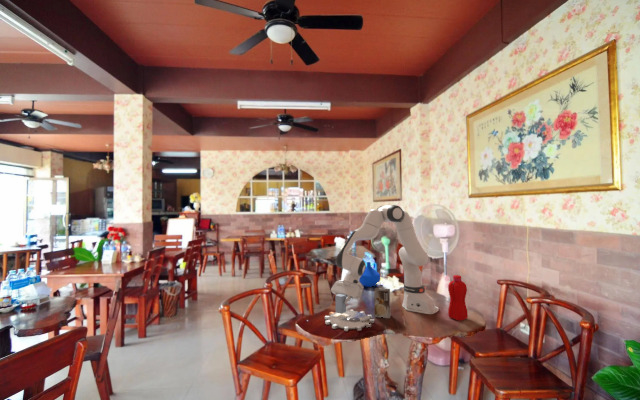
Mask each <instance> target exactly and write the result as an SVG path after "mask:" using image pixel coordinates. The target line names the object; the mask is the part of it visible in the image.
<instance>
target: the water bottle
mask: <svg viewBox="0 0 640 400" xmlns="http://www.w3.org/2000/svg"><path fill="white" fill-rule="evenodd" d="M452 278H453V280H452V281H450V282H449V283H448V284H447V285H448V286H447V290H448V295H449V300H450V301H449V305H448V309H447V311H448V313H447V314H448V317H449V319H453V320H456V321H461V322H462V321H464V320H467V319H468V315H469V314H468V309H467V304H466V296H467V292H468V288H467V284H466V283H465V282H464V281H462V275H458V274H456V275H453V276H452Z"/></svg>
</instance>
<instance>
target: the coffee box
mask: <svg viewBox="0 0 640 400" xmlns="http://www.w3.org/2000/svg"><path fill="white" fill-rule="evenodd" d="M373 297H374V298H373V299H374V301H373V302H374V318H381V317H383V318H382V319H391V316H392V314H391V289H390V288H382V287H375V288H374V290H373Z"/></svg>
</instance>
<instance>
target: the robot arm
mask: <svg viewBox="0 0 640 400" xmlns="http://www.w3.org/2000/svg"><path fill="white" fill-rule="evenodd" d="M383 223H393V224H394V226H395V230H396V234H397V236H398V240H399V242H400V244H401V245H402V246H401V247H400V249H399V250H398V256H399V258H400V261H401V265H402V269H403V278H404V279H403V280H404V281H403V282H404V284H403V292H404V293H403V301H402V304H401V306H402V308H404V310H405V311H408V312H414V313H420V314H425V315H434V314H436V313H438V312H439V310H440V309H439V307H438V306H436V304H435V301H434V300H435V299H434V298H432V297H431V296H430V295H429V294H428V293H427V292H426V289H427V287H426V286H425V287H424V285H423V273H422V271H421V270H420V267H423V266H425V265H427V263H428V262H429V255H428V253H427V252H426V251H425V250H424V248H423V247H422V245H421V243H420V241H419V240H418V237H417V235H416V231H415V227H414V224H413V220H412V218H411V217H410V214H409V213H408V212H407V211H404V210H403V209H402V207H400V206H399V205H396V204H386V205H380V206H379V207H377V208H376V209H375V208H374V209H370V210H369V212H367V215H366V216H365V218H364V220H363V222H362V224H361V225H360V227H358V228H357V229H354V230H353V231H352V232H351V234H350V235H349V237H348V239H346V242H345V244H344V245H343V247H342V248H341V249H340V251H339V252H338V254H337V255H336V257H335V259H334V262H335V264H336V266H337V268H339V269H342V270H343V269H344V270H346V271H347V273H346V274H345V276H344V279H342V280H340V279H338V280H336V281H335V282H334V283H333V285H332V286H331V289H330V291H331V293H332V294H334V295H338V294H344V295H346V300H344V301H343V303H344V304H346V305H347V303H348V302H349V301H350V300H351V299H354V300H356V301H357V300H360V299H361V296H362V294H363V290H364V287H365V286H363V285H362V284H361V283H360V282H359V279H360V277H361V276H362V275H363V273H364V271H365V268H366V267H367V263H366V262H365V261H364V259H362V258H360V257H357V256H356V255H352V254H350V253H349V252H350V250H351V249H352V247H353V246H354V244H355V243H356V242H357V241H371V240H373V239H375V238H376V237H377V236H378V234H379V231H380V229H381V226H382V224H383Z"/></svg>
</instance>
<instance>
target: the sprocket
mask: <svg viewBox="0 0 640 400" xmlns="http://www.w3.org/2000/svg"><path fill="white" fill-rule="evenodd" d="M365 312H366V311H364V310H361V311H357V310H354V309H349V310H346V312H345V313H342V314H340V313H337V312H336V311H335V312H334V311H330V312H329V313H328V315H325V316H324V320H325V321H324V322H325V324H326V325H327V326H329V325H331V328H332V329H334V330H336V329H342V330H344V332H348V331H349V330H357V332H358V331H362V329H363V328H368V327H370V328H371V327H372V324H374V323H375V318H373V314H366V313H365ZM369 323H370V324H369ZM365 326H366V327H365Z"/></svg>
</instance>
